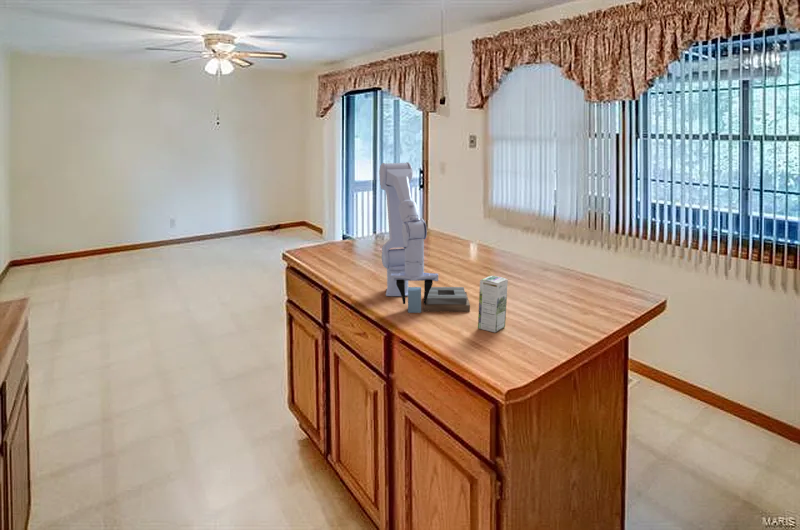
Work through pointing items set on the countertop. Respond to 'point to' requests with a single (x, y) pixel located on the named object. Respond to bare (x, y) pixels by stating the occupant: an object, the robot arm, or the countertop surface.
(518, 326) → the countertop surface
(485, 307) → the syrup box
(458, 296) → the socket block
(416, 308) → the blue peg
